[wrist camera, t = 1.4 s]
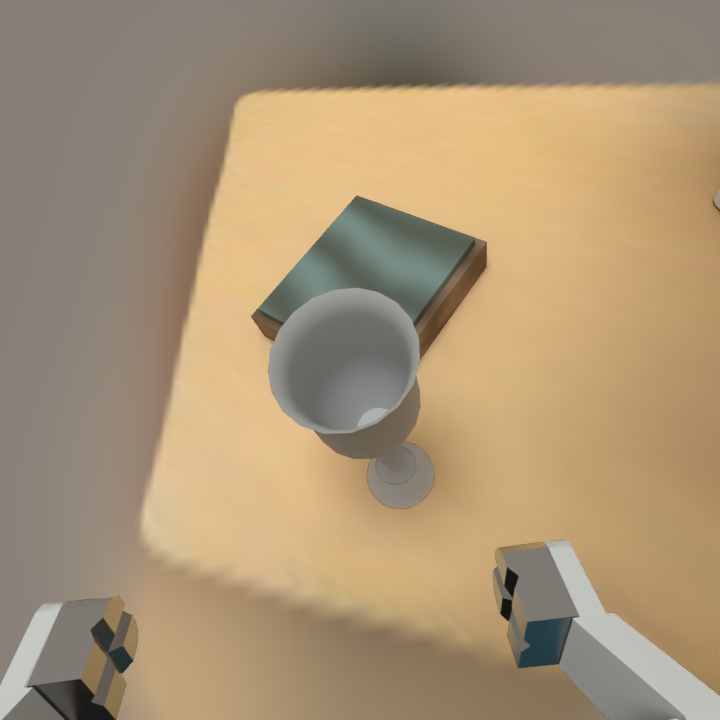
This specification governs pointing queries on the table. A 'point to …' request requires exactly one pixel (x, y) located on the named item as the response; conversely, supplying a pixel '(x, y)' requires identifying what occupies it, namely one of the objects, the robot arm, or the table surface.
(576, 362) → the table surface
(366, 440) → the chalice
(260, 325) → the plinth
